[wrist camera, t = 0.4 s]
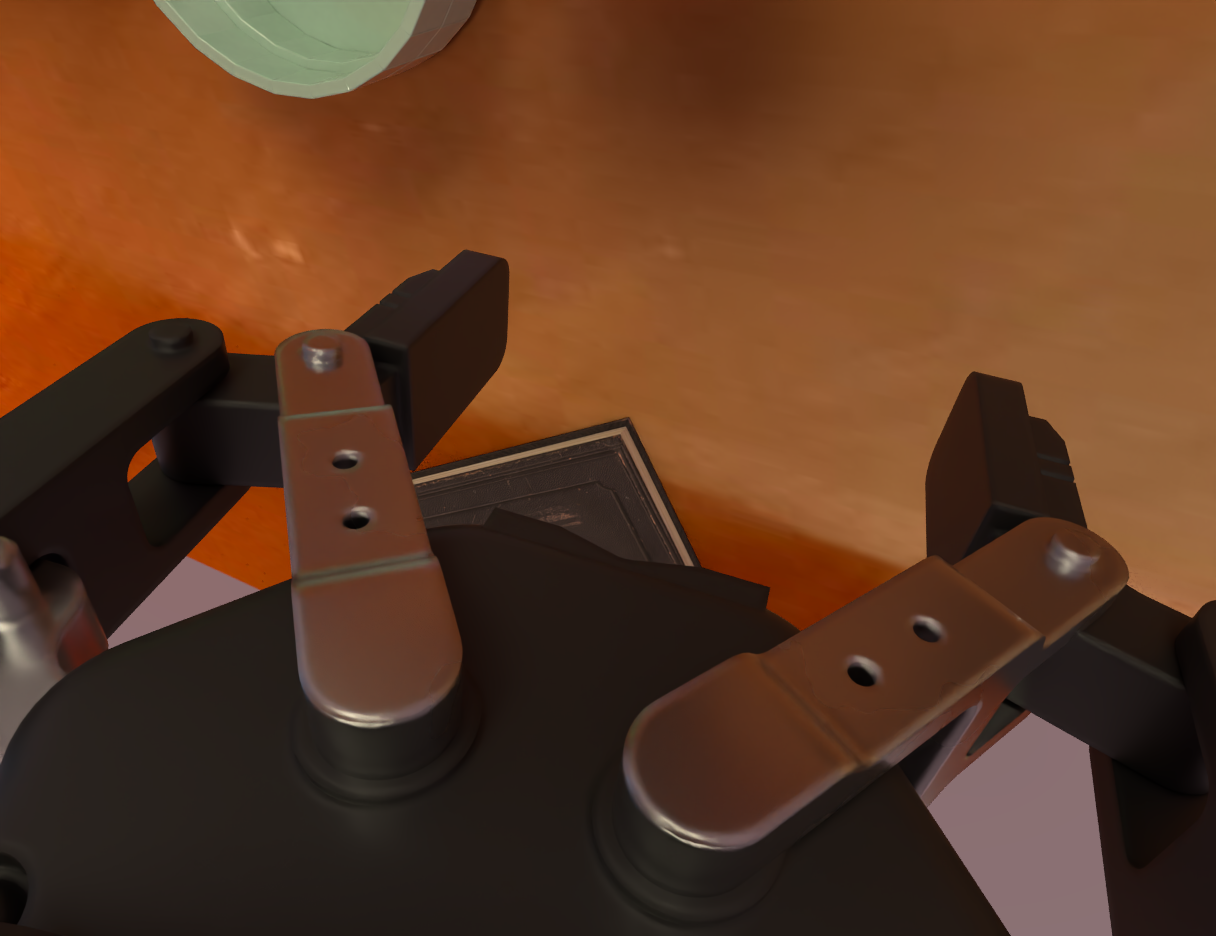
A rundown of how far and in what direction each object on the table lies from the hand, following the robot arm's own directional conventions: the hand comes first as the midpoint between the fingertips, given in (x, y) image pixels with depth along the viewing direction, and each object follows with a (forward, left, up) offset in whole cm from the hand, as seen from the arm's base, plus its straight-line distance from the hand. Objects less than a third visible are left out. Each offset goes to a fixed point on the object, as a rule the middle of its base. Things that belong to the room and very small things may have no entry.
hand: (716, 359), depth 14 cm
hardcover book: (+33, -14, -28) cm, 45 cm away
